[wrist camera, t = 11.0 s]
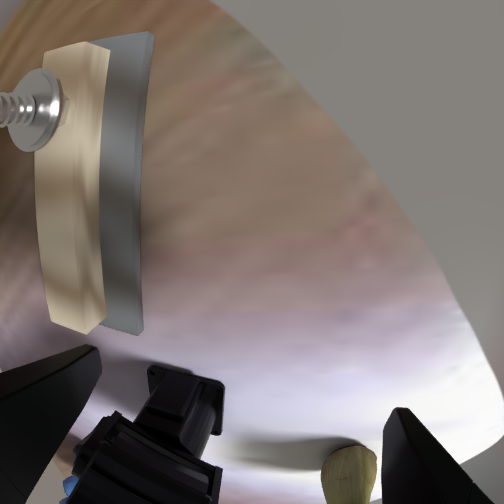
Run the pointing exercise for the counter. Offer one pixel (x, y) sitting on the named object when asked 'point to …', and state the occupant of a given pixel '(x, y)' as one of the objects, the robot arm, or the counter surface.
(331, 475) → the fennel bulb
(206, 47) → the counter surface
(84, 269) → the stand
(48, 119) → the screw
